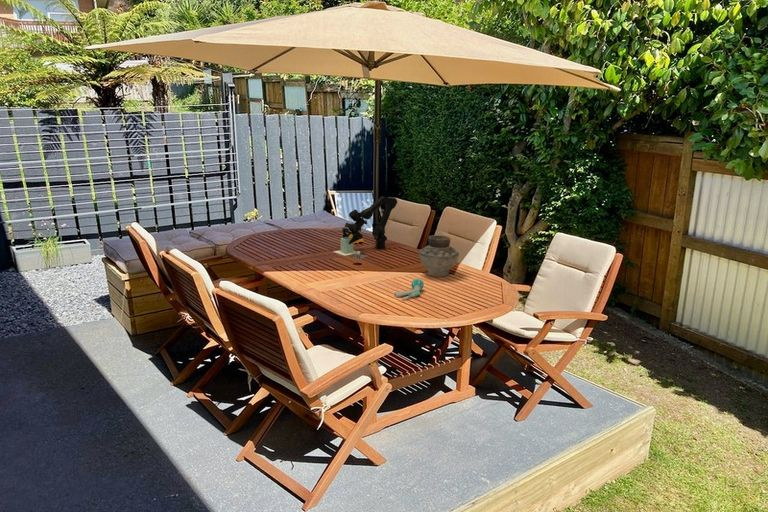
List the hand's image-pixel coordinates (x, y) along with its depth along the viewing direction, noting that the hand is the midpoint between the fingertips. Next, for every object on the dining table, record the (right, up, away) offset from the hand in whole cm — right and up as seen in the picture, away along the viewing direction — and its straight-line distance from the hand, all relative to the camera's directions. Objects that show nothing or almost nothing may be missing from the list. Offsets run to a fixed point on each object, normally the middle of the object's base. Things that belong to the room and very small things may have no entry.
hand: (345, 242), depth 415 cm
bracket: (+6, +1, +38) cm, 39 cm away
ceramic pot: (+61, -21, -43) cm, 78 cm away
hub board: (+1, -8, +3) cm, 9 cm away
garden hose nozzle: (+43, -31, -82) cm, 98 cm away
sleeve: (+1, -7, +3) cm, 7 cm away
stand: (+10, -11, -8) cm, 17 cm away
